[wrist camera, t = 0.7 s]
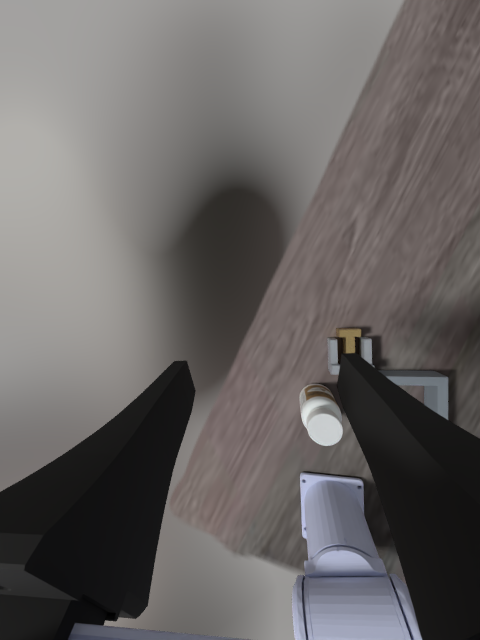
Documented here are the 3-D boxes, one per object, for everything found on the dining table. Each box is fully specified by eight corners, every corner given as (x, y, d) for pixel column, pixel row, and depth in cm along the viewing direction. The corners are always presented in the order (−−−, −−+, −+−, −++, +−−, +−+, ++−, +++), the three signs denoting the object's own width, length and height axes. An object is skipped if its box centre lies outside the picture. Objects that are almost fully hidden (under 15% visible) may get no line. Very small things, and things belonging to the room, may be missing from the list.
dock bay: (433, 434, 27) (449, 449, 25) (330, 428, 30) (334, 440, 27) (433, 335, 27) (450, 338, 24) (327, 337, 29) (331, 341, 26)
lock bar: (357, 373, 29) (361, 377, 27) (337, 373, 29) (340, 377, 27) (356, 327, 28) (360, 329, 27) (336, 328, 29) (339, 329, 27)
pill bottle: (336, 387, 29) (352, 415, 22) (329, 418, 30) (343, 456, 22) (302, 379, 30) (307, 403, 23) (296, 409, 31) (298, 443, 23)
